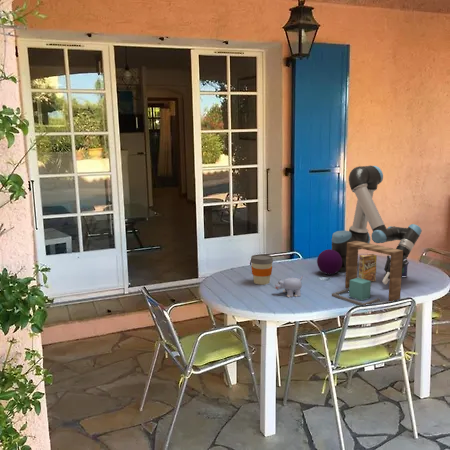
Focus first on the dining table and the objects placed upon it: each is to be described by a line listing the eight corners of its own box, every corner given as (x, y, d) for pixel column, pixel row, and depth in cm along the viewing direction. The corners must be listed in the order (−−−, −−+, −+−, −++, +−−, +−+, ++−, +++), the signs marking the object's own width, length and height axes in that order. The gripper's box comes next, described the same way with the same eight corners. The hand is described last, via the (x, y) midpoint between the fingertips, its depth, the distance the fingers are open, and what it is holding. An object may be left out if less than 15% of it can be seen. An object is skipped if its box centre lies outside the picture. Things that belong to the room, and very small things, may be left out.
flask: (406, 276, 291) (407, 258, 289) (407, 277, 288) (408, 260, 286) (390, 276, 292) (391, 258, 290) (391, 277, 289) (392, 260, 287)
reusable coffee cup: (271, 286, 275) (271, 260, 272) (249, 284, 277) (249, 259, 275) (273, 279, 287) (274, 254, 284) (252, 278, 289) (252, 253, 287)
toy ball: (342, 271, 303) (343, 247, 300) (341, 278, 289) (342, 253, 286) (317, 269, 307) (318, 246, 304) (315, 276, 292) (316, 252, 289)
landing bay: (331, 295, 258) (331, 293, 258) (347, 290, 266) (347, 288, 266) (363, 306, 242) (363, 304, 242) (380, 300, 250) (380, 298, 250)
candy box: (362, 282, 280) (363, 256, 277) (358, 280, 284) (359, 254, 281) (375, 281, 282) (377, 255, 280) (371, 279, 286) (372, 253, 284)
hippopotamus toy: (273, 291, 266) (273, 274, 265) (299, 290, 268) (300, 273, 266) (277, 297, 256) (277, 280, 254) (305, 296, 258) (306, 279, 256)
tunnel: (345, 287, 271) (346, 242, 266) (354, 285, 276) (356, 240, 271) (390, 301, 248) (393, 252, 243) (400, 298, 253) (403, 250, 248)
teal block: (348, 296, 257) (349, 280, 255) (357, 293, 261) (358, 277, 259) (361, 300, 251) (362, 283, 249) (370, 297, 255) (370, 281, 253)
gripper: (391, 242, 278) (371, 276, 271) (412, 247, 267) (391, 282, 261) (396, 250, 282) (376, 283, 275) (416, 255, 272) (397, 289, 265)
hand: (384, 283), depth 268 cm, fingers closed
